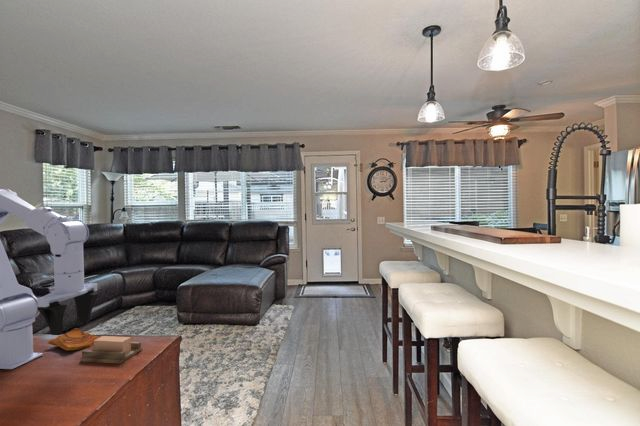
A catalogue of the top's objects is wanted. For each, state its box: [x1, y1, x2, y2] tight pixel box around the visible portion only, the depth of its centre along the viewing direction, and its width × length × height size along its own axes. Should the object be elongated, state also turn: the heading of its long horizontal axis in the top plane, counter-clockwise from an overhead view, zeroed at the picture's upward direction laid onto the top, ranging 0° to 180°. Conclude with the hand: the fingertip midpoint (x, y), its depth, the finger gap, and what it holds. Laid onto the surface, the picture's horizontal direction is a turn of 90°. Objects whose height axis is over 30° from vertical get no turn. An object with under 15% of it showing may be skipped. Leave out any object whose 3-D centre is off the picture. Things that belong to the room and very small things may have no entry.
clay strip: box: [93, 335, 132, 354], centre depth 88 cm, size 8×3×4 cm, turn 82°
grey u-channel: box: [80, 340, 143, 364], centre depth 88 cm, size 11×8×2 cm
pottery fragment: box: [47, 327, 101, 351], centre depth 94 cm, size 10×5×10 cm
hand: (70, 328), depth 81 cm, fingers open, 7 cm apart
